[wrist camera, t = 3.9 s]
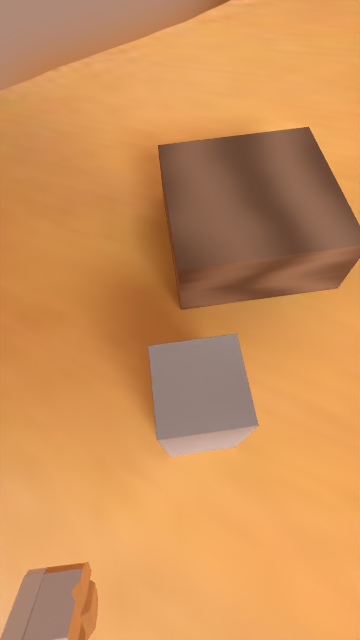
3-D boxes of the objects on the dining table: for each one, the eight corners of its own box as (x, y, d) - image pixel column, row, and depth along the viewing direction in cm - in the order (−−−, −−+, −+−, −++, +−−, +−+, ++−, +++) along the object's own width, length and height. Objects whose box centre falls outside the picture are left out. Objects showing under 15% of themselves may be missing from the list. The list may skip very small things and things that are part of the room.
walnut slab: (180, 309, 24) (177, 269, 20) (163, 196, 30) (158, 145, 25) (337, 288, 25) (369, 244, 20) (291, 179, 30) (308, 126, 26)
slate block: (170, 456, 20) (157, 440, 13) (163, 392, 22) (148, 345, 14) (235, 447, 20) (258, 425, 13) (222, 383, 22) (236, 333, 14)
